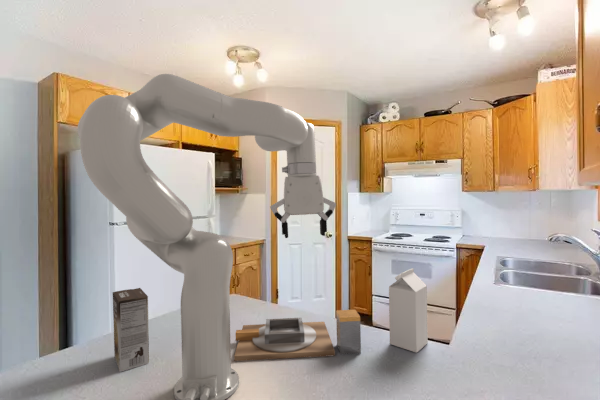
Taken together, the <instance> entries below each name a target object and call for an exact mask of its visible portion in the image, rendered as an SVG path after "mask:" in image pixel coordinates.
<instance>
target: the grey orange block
mask: <svg viewBox="0 0 600 400" xmlns="http://www.w3.org/2000/svg"><path fill="white" fill-rule="evenodd" d="M335 313H336V314H335V315H336V318H335V320H336V322H335V323H336V346H337V349H338V352H339V354H340V355H341V356H343V355H355V354H356V355H358V354H362V346H361V344H362V343H361V341H362V340H361V338H362V337H361V333H362V332H361V316H360V314H359V313H358V311H357V310H356V309H337V310H336V312H335Z"/></svg>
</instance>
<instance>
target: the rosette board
mask: <svg viewBox="0 0 600 400" xmlns="http://www.w3.org/2000/svg"><path fill="white" fill-rule="evenodd" d="M241 328H242V329H236V331H235V341H236V342H237V341H238V342H237V346H236V349H235V352H234V356H233V357H234V359H233V361H234V362H240V361H241V362H242V361H259V360H261V361H262V360H263V361H264V360H278V359H279V360H280V359H297V358H298V359H299V358H317V357H336V351H335V347H334V344H333V342H332V338H331V337H330V334H329V330H328V329H327V325H326V323H325V321H309V322H307V321H306V322H304V321H303V318H302V317H288V318H286V317H284V318H267V319H265V323H262V324H261V323H260V324H244V325H242V327H241Z"/></svg>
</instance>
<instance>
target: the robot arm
mask: <svg viewBox="0 0 600 400" xmlns="http://www.w3.org/2000/svg"><path fill="white" fill-rule="evenodd" d="M173 123H175V124H178V125H181V126H186V127H189V128H193V129H196V130H200V131H203V132H205V133H209V134H212V135H215V136H218V137H228V138H229V137H230V138H231V137H232V138H235V137H246V136H248V137H251V136H252V137H253V136H254V140H255V143H256V144H257V147H259V148H260V149H261V150H264V151H267V152H279V151H285V152H286V166H283V167H281V173H284V174H287V176H285V177H284V184H283V185H284V186H283V198H282V199H280V200H278V201H277V202H275V203H273V204H271V206H269V207H270V210H271V212H272V214H273V216H274V217H275V218H277V220H279V221H280V222H281V235H284V238H285V239H288V238H289V227H288V226H289V224H288V221H287V220H288V219H289V218H290V216H303V215H304V216H305V215H318V216H319V217H320V219H319V230H320V231H319V232H320V235H321V236H322V237H325V236H326V233H327V231H328V226H327V225H328V223H327V220H329V218H330V216H332V215H333V214H334V211H335V209H336V206H337V203H336V202H334V201H332V200H330V199H328V198H326V197H324V192H323V187H322V180H321V175H317V158H316V134H315V133H316V132H315V127H314V124H312V123H310V122H308V121H306V120H304V118H303V117H302V116H301V115H300V114H298V112H295V111H293V110H290V109H288V108H286V107H283V106H281V105H278V104H276V103H272V102H267V101H261V100H253V99H248V98H238V97H233V96H229V95H226V94H224V93H221V92H219V91H216V90H213V89H211V88H209V87H206V86H203V85H200V84H199V83H196V82H194V81H191V80H188V79H186V78H183V77H181V76H178V75H174V74H170V73H160V74H157V75H156V76H154V77H152V78H151V79H150V80H149V81H148V82H146V83H145V84H144V85H143V87H141V88H140V89H139V90H137V91H135V92H133V93H131V94H130V95H127V96H125V97H124V96H121V95H117V94H106V95H102V96H100V97H98V98H96V99H95V100H93V101H92V102H91V103H90V104H89V105H88V107H87V108H86V109H85V110H84V113H83V114H82V115H81V118H80V119H79V121H78V124H77V129H76V130H77V135H78V138H79V141H80V142H79V145H80V146H79V147H80V154H81V159H82V163H83V167H84V169H85V172H86V174H87V175H88V178H89V179H90V181H91V182H92V184H93V185H94V186H95V187H96V189H97V190H98V191H99V192H100V193H101V194H102V195H103V196H104V197H105V198H106V199H107V200H108V201H109V202H110V203H111V204H112V205H113V206H114V207H115V208H116V209H117V210H119V212H120V213H122V214H123V215H124V216H125V222H126V225H127V228H128V230H129V231H130V233H131V234H132V235H133V236H134V237H135V239H136V240H138V241H139V242H140V243H142V245H144V246H145V247H146V248H147V249H149V250H150V251H151V252H152V253H153V254H154V255H155V256H157V257H158V258H159V259H160V260H161V261H162V262H164V263H165V264H166V265H167V266H169V267H170V268H171V269H173V270H174V271H177V272H179V273H181V274H183V284H182V287H181V288H182V289H181V293H180V324H181V325H180V326H181V328H180V329H181V330H180V333H181V338H180V339H181V373H182V374H181V375H182V376H181V377H180V378H179V380H177V382H176V383H175V384H174V387H173V394H174V395H173V396H174V398H175V400H226V399H228V398H230V397H231V396H232V395H233V394H234V393H235V392H236V391H237V389H238V388H239V384H240V377H239V374H238V372H237V371H236V370H235V369H233V368H232V360H231V359H232V358H231V357H232V353H231V352H232V350H231V348H232V347H231V344H232V343H231V308H230V304H231V303H230V301H231V300H230V294H231V293H230V289H231V288H230V285H231V277H232V272H233V263H234V254H233V253H234V252H233V249H232V247H231V245H230V244H229V242H228V241H227V239H225V238H224V237H223V236H221V235H220V234H217V233H214V232H210V231H203V230H197V229H196V228H195V227H193V224H194V223H193V222H194V221H193V215H192V212H191V210H190V208H189V207H188V206H187V204H185V203H184V201H183V200H181V198H180V197H178V196H177V194H175V193H174V192H173V191H172V190H171V189H170V188H169V187H168V186H167V185H166V184H165V183H164V182H163V181H162V180H161V179H160V178H159V177H158V175H157V174H155V172H154V171H153V170H152V169H151V167H150V166H149V165H148V163H147V162H146V161H145V159H144V157H143V154H142V150H141V141H142V140H145V139H146V138H149V137H151V136H152V135H154V134H156V133H157V132H159V131H161V130H162V129H164V128H166V127H168V126H170V125H171V124H173ZM325 204H326V205H327V206H328V209H327V211H326V212H324V210H325ZM282 206H283V209H284V213H283V215H282V214H280V212H279V211H278V208H280V207H282Z"/></svg>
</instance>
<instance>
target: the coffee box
mask: <svg viewBox="0 0 600 400" xmlns="http://www.w3.org/2000/svg"><path fill="white" fill-rule="evenodd" d="M112 306H113V307H112V311H113V312H112V313H113V314H112V315H113V316H112V317H113V345H114V346H113V348H114V351H113V352H114V360H115V362H116V364H117V365H116V366H117V367H118V371H119V373H122V372H124V371H125V372H126V371H127V370H132V369H135V368H138V367H141V366H145V365H148V364H149V363H150V352H149V351H150V350H149V349H150V348H149V345H150V341H149V338H150V337H149V335H150V334H149V333H150V332H149V331H150V330H149V329H150V327H149V296H148V295H147V294H146V293H145V292H144V290H143V289H142V288H141V287H136V288H133V289H124V290H117V291H113V292H112Z"/></svg>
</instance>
